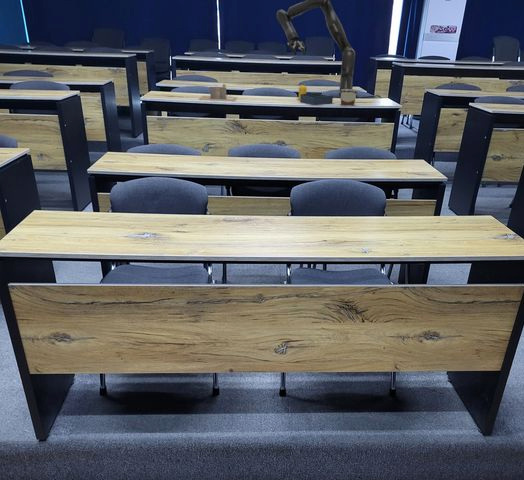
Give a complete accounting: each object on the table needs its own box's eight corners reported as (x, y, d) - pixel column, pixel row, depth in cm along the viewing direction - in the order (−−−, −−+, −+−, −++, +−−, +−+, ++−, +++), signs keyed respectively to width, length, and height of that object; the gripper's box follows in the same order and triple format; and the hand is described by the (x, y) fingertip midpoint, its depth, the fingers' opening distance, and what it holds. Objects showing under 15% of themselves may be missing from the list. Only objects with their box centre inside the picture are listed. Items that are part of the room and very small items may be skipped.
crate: (318, 100, 389) (318, 92, 386) (332, 103, 379) (333, 95, 376) (299, 101, 380) (300, 94, 377) (314, 105, 370) (314, 97, 367)
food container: (355, 104, 377) (357, 89, 371) (356, 105, 372) (357, 90, 366) (338, 103, 378) (340, 88, 372) (338, 105, 372) (340, 89, 367)
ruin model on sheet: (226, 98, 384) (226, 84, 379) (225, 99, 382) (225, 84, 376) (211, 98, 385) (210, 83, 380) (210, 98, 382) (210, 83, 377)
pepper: (302, 98, 393) (303, 83, 387) (307, 99, 390) (308, 84, 384) (296, 99, 391) (297, 83, 385) (301, 100, 387) (302, 84, 381)
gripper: (286, 31, 381) (295, 50, 380) (301, 31, 388) (310, 50, 387) (281, 39, 388) (290, 58, 386) (296, 39, 395) (305, 57, 394)
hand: (300, 54), depth 387 cm, fingers open, 8 cm apart
